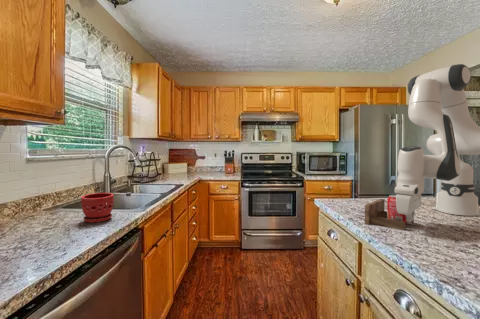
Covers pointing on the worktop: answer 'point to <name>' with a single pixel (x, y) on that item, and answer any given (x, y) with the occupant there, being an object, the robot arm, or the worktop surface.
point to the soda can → (394, 210)
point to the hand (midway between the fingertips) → (409, 221)
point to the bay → (381, 216)
